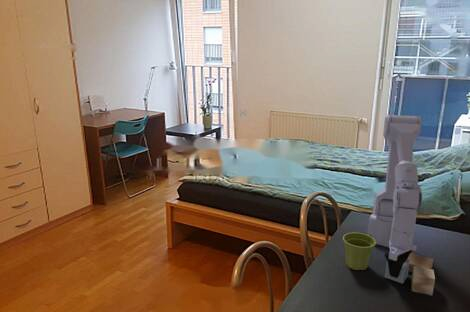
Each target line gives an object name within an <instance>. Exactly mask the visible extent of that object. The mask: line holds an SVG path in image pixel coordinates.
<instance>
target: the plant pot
mask: <svg viewBox="0 0 470 312" xmlns="http://www.w3.org/2000/svg"><path fill="white" fill-rule="evenodd" d="M342 241H343V242H344V247H345V248H344V249H345V262H346V265H347V267H348V268H349V269H351V270H355V271H360V270H361V271H364V270H367V269H368V266H369V262H370V259H371V255H372V252H373V249H374V247H375V246H376V245H377V244H376V241H375V239H374V238H372V237H371V236H369V235H367V233H362V232H361V233H360V232H349V233H345V234H344V235H343V236H342Z"/></svg>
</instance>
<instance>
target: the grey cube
mask: <svg viewBox="0 0 470 312" xmlns="http://www.w3.org/2000/svg"><path fill="white" fill-rule="evenodd" d="M409 263H410V260H406V262H405V263H404V264H403V266H402V268H401V271H400V274H399V276H398V278H395V277H392V276H390V274H389V266H388V262H387V261H386V265H385V272H384V278H386V279H389V280H391V281H394V282H396V283H400V284H404V283H405V282H406V279H407V278H408V276H409V272H408V270H409Z"/></svg>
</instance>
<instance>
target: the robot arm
mask: <svg viewBox="0 0 470 312" xmlns="http://www.w3.org/2000/svg"><path fill="white" fill-rule="evenodd" d="M383 125H384V126H383V139H385V140H386V141H388V144H389V147H388V148H389V150H388V158H387V167H386V173H385V175H386V176H385V177H386V178H385V184H384V188H383V189H380V190H378V191H377V192H376V193H375V196H374V200H373V208H372V209H373V213H371V215H370V216H369V219H368V223H367V233H366V235H369V236H371V237H372V238H374V239H375V241H376V244H375V245H379V246H383V247H385V248H389V250H386V251H385V253H384V257H385V260H386V262H388V266H389V274H390V276H392V277H395V278H398V276H399V274H400V271H401V268H402V266H403V264H404V263H405V262H406V260H407V259H408V257H409V255H410V253H413V252H415V251H416V250H417V248H418V247H417V246H416V245H414V244H413V241H414V233H415V229H416V221H417V215H418V211H419V210H421V208H422V204H423V192H422V188H421V185H420V184H419V177H418V176H419V175H418V166H417V165H416V163H414V162H413V159H414V158H413V157H414V141H416V140H417V139H418V137H419V135H420V134H421V132H422V126H423V121H422V117H420V116H419V115H415V116H414V115H400V114H399V115H397V114H387V115H386V116H385V118H384V124H383Z"/></svg>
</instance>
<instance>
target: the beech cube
mask: <svg viewBox="0 0 470 312" xmlns="http://www.w3.org/2000/svg"><path fill="white" fill-rule="evenodd" d="M435 282H436V277H435V270H434V269H432V268H431V269H427V268H422V267H417V266H414V267H413V273H412V274H411V291H412V292H415V293H420V294H424V295H428V296H433V293H434V289H435V288H434V287H435Z"/></svg>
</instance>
